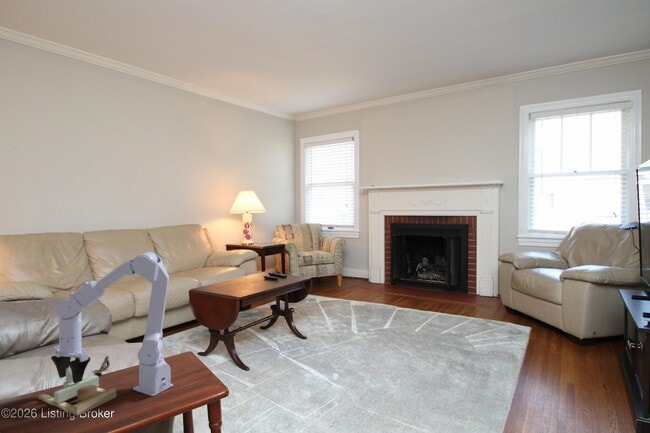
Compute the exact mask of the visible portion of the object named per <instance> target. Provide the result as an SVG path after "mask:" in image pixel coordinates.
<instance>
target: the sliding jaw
mask: <svg viewBox="0 0 650 433" xmlns="http://www.w3.org/2000/svg"><path fill="white" fill-rule="evenodd" d="M88 385H95V386H97V387H100V376H96V374H94V375H92V376H90V377H87V378H85V379H82V381H80V382H78V383H74V382H73V377H72V371H71V368H70V366H69V368H67V369H66V376H65V381H64V382H63V387H62V388H60V389H58V390H55V391H54V392H53V397H54V402H56V403H60V402H66V401H68V400H69V399H72V398H75V397H77V390H78V389H80V388H82V387H84V386H88Z"/></svg>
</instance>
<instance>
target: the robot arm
mask: <svg viewBox="0 0 650 433" xmlns="http://www.w3.org/2000/svg"><path fill="white" fill-rule="evenodd" d="M134 274H137V275H139V276H142V277H143V278H145V279H146V280H148V281H149V282H150V283H151V292H150V298H149V299H150V300H149V305H148V312H147V320H146V328H145V333H144V337H143V341H142V346H141V348H140V349H138V353H137V358H138V362H139V364H138V365H139V366H138V368H139V370H138V379H139V380H138V385H136V386H134V387H133V388H132V390H133V391H136V392H138V393H142V394H145V395H147V396H150V397H154V396H156V395H159V394H160V393H162V392H164V391H165V390H168V389H169V388H171V387H173V386H174V384H173V383H172V382H171V381H172V378H171V377H172V372H171V371H172V370H171V366H170V365H169V363H167V362H166V361H165V358H164V355H163V353H162V351H163V350H164V347H165V341H164V338H163V335H164V334H163V332H164V331H163V326H164V319H165V312H166V304H167V303H166V302H167V297H168V296H167V295H168V291H169V282H170V275H169V273H168V271H167V269H166V267H165V265H164V262H163V260H162V258H161V257H160V256H159V255H158V254H157V253H155V252H154V251H150V250H149V251H144V252H143V253H140V254H139V255H136V256H135V257H133V258H131V259H128V260H127V261H125V262H123V263H122V264H120V265H119V266H117V267H115V269H113V270H112V271H110V272H109V273H108V274H106V275H105V276H104V277H103V278H100V279H99V280H91V281H86V282H84V283H82V287H81V288H79V289H77V290H76V291H75V292H73V291H72V292H70V293H69V294H68V297H66V298H65V299H62V300H60V301H59V303H57V305H56V307H55V313H56V316H58V317H59V318H58V320H59V321H58V329H59V330H58V338H59V341H58V343H59V344H58V345H55V346H53V353H54V354H55V355H52V356H51V357H50V360H51V361H52V362H53V364H54V365H55V368H56V372H57V374H58V377H59V379H63V378H66V369H67V368H69V367H70V368H71V371H72V377H73V382H74V383H78V382H80V381H82V380H83V378H84V374H85V371H86V369H87V366H88V365H89V363H90V361H91V357H90V356H89V353H88V352H86V351H85V349H84V347H82V344H83V343H82V328H83V327H82V311H83V310H84V309H85V308H88V307H89V306H90V305H91V304H93V303H95V302H96V301H97V300H99V299H100V298H101V297H103V296H104V295H105V291H106V289H107V288H109V287H110V286H111V285H113V284H114V283H115V282H118V281H119V280H120V279H122V278H123V277H125V276H133V275H134ZM72 358H73V359H74V360H72Z"/></svg>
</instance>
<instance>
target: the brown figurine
mask: <svg viewBox="0 0 650 433" xmlns="http://www.w3.org/2000/svg"><path fill="white" fill-rule="evenodd" d="M109 359H110V356H109V355H107V356H105V357H104V360H103V362H102V363H101V365H100V368H99V370H98V371H95V375H96V376H99V377H100V376H103V371H104V372H105V371H107V370H108V368H109V367H110V366H111V363H110V361H109Z"/></svg>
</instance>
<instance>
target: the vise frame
mask: <svg viewBox="0 0 650 433" xmlns="http://www.w3.org/2000/svg"><path fill="white" fill-rule="evenodd" d="M116 398H117V388H114V387H111V388H109V389H104V388H101V387H99V386H97V395H95V396H93V397H91V398H88V399H86V400H84V401H82V402H80V403H75V404H70V403H68V402H66V401H63V402H60V403H56V402H54V396H51V395H49V394H47V393H41V394H39V395H38V400H41V401H43V402H44V403H47V404H48V405H49V404H50V405H51V406H55V408H59V409H60V410H62V411H63V410H64V411H65V412H68V413H70V414H72V415H74V416H77V417H78V416H80V415H82V414H85V413H87V412H89V411H90V410H93V409H95V408H97V407H99V406H101V405H104V404H106V403H108V402H109V401H112V400H114V399H116Z"/></svg>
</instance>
